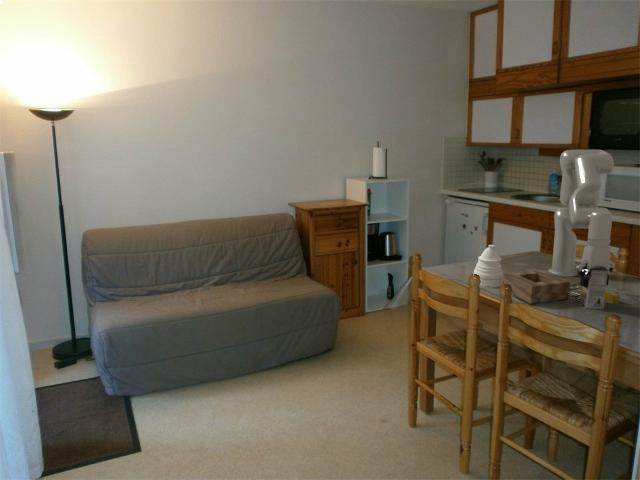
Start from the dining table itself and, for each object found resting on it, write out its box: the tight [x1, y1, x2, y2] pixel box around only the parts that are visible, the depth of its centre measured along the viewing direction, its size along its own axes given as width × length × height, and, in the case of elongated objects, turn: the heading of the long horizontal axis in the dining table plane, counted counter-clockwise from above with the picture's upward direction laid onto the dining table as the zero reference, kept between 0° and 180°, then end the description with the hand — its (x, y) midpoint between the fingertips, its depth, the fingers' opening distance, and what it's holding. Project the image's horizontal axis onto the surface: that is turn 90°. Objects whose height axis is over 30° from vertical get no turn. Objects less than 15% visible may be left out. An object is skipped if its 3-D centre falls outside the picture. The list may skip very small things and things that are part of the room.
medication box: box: [604, 289, 620, 305], centre depth 210 cm, size 12×3×4 cm, turn 16°
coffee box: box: [580, 267, 608, 310], centre depth 202 cm, size 9×6×16 cm
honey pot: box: [473, 244, 504, 288], centre depth 232 cm, size 13×13×18 cm
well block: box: [503, 269, 571, 306], centre depth 214 cm, size 18×18×8 cm
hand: (594, 285), depth 202 cm, fingers open, 9 cm apart
